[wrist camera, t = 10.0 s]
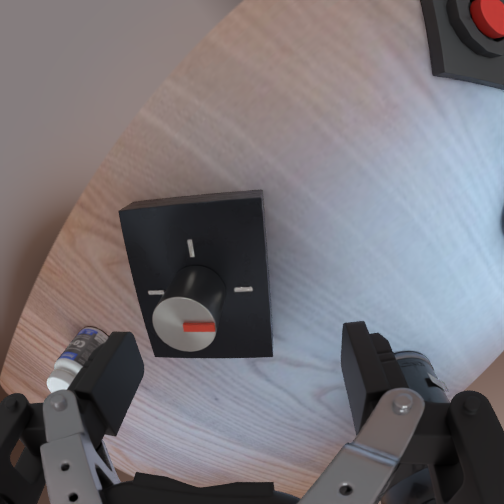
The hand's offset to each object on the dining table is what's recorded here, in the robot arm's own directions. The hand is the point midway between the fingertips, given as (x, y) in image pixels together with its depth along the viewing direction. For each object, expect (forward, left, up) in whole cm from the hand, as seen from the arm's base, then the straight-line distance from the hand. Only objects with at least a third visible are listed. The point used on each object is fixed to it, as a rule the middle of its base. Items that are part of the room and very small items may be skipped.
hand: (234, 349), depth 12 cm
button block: (+18, -20, -16) cm, 31 cm away
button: (+18, -20, -12) cm, 30 cm away
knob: (-4, +5, -13) cm, 14 cm away
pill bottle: (-12, +19, -16) cm, 27 cm away
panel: (-4, +5, -16) cm, 17 cm away
